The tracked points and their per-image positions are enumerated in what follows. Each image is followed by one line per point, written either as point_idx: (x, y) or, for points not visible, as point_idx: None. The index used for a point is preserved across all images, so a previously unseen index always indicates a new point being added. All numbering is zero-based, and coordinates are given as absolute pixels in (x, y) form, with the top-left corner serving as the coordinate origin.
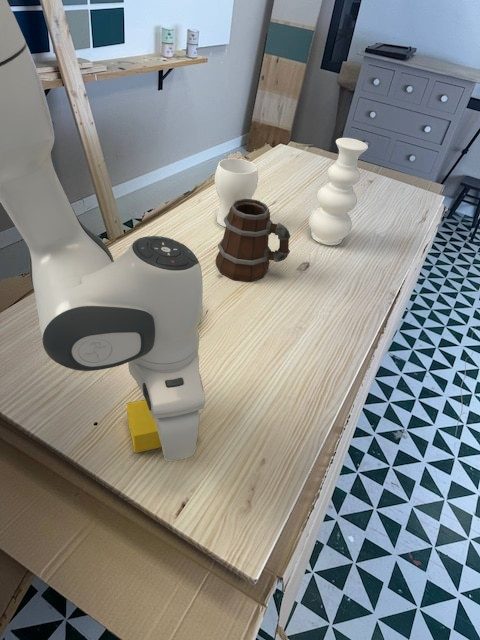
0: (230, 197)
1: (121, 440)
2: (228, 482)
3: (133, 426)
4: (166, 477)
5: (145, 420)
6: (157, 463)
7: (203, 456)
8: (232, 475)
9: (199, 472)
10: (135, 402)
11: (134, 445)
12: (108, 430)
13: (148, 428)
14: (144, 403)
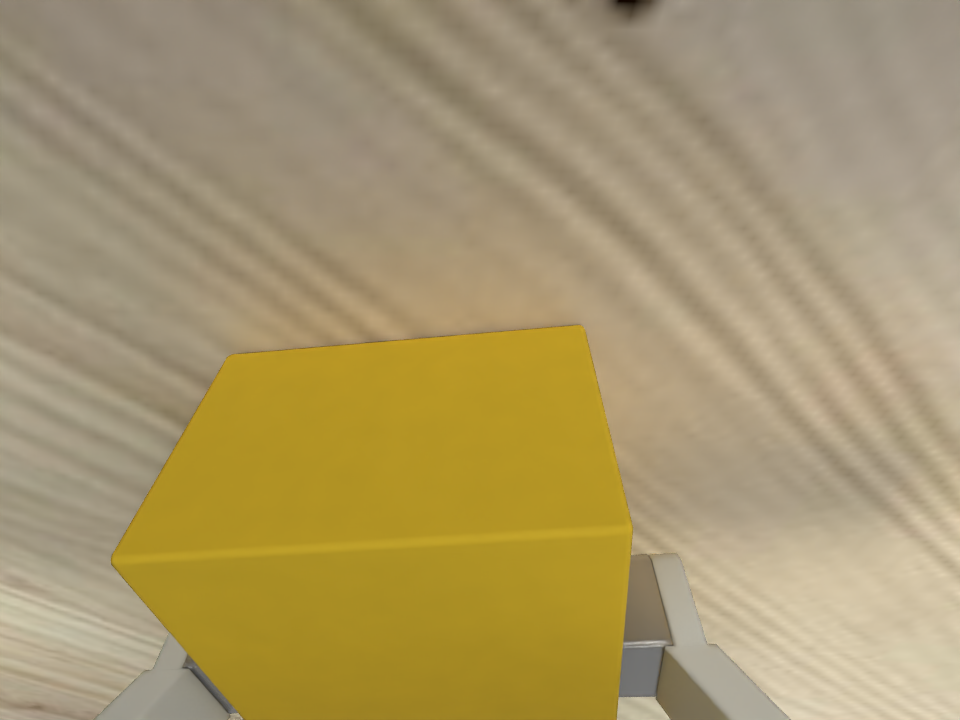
0: None
1: (360, 262)
2: (112, 678)
3: (244, 566)
4: (64, 499)
5: (335, 642)
6: (161, 469)
7: None
8: None
9: (141, 613)
10: (611, 592)
11: (188, 426)
12: (497, 144)
13: (237, 647)
14: (568, 646)
